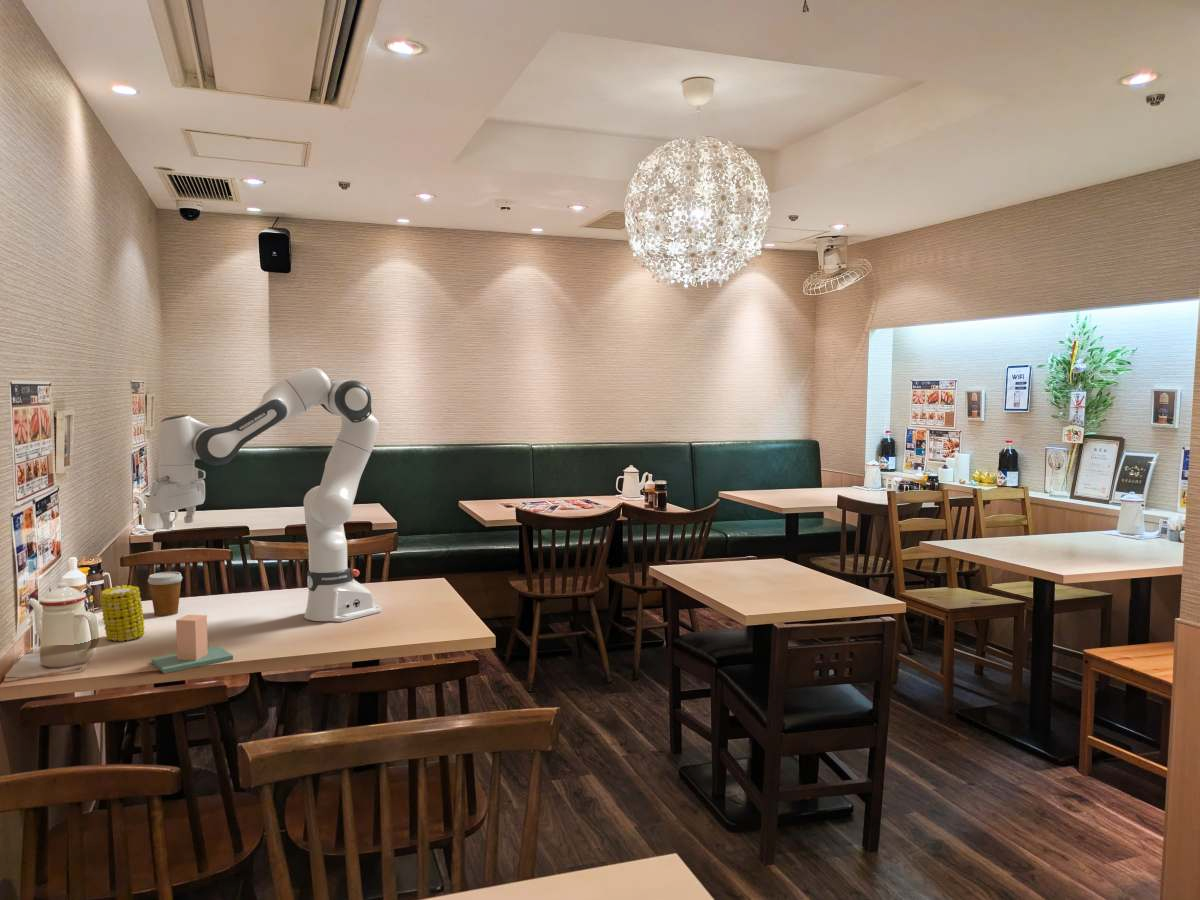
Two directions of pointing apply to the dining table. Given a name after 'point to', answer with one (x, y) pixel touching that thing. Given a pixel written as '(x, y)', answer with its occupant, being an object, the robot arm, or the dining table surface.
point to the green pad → (172, 664)
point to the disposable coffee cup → (165, 592)
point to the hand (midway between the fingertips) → (178, 525)
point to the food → (122, 613)
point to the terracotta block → (191, 637)
